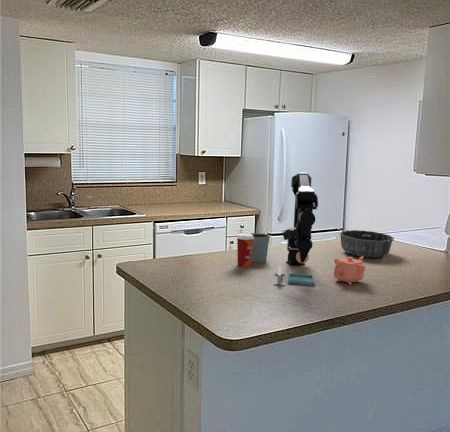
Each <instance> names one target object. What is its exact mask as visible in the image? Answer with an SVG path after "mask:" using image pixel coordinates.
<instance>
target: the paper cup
mask: <svg viewBox="0 0 450 432" xmlns="http://www.w3.org/2000/svg"><path fill="white" fill-rule="evenodd" d="M253 239H254V237H253V235H252V234H251V233H238V234H237V236H236V240H237V241H236V243H237V246H236V247H237V266H238V267H240V268H249V267H251V264H252V262H251V256H252V246H253Z"/></svg>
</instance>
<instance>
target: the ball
mask: <svg viewBox="0 0 450 432" xmlns="http://www.w3.org/2000/svg"><path fill="white" fill-rule="evenodd" d="M309 257H310V256H309V254H308V255H307V257H306V259H305V261H304V262H301V259H300V251H299V252H298V253H297V255H296V259H297V261H298V262H299V263H305V264H306V263H307V262H308V261H309V259H310V258H309Z"/></svg>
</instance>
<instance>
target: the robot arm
mask: <svg viewBox="0 0 450 432" xmlns="http://www.w3.org/2000/svg"><path fill="white" fill-rule="evenodd" d="M290 181H291V182H290V188H292V189H291V191H292V192H293V195H294V198H295V199H294V212H293V213H294V215H293V226H292V227H291V228H286V229H284V230H282V232H281V233H282V236H283V240H284V241H287V242H286V251H288V254H287V260H286V261H285V262H286V263H287V264H289V265H292V266H294V267H295V266H302V265H303V266H304V265H306V263H299V262H298V261H297V259H296V255H297V253H298V252H299V251H300V259H301V262H304V261H305V259H306V257H307V255H309V253H310V251H311V249H313V241H312V229H313V226H314V224H315V223H316V216H315V214H314V212H313V210H317V209H318V207H319V201H318V194H317V193H315V190H314V188H312V177H311V176H310V173H308V172H297V173H296V175H293V176H292V177H291V180H290Z"/></svg>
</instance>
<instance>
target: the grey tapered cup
mask: <svg viewBox="0 0 450 432" xmlns="http://www.w3.org/2000/svg"><path fill="white" fill-rule="evenodd" d="M250 234H252V235H253V237H254V239H253V246H252V256H251V263H258V264H259V263H260V264H261V263H265V262H267V259H268V258H267V256H268V250H269V249H268V248H269V243H270V236H271V235H269V234H267V233H260V232H259V233H258V232H256V233H255V232H253V233H250Z"/></svg>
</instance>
